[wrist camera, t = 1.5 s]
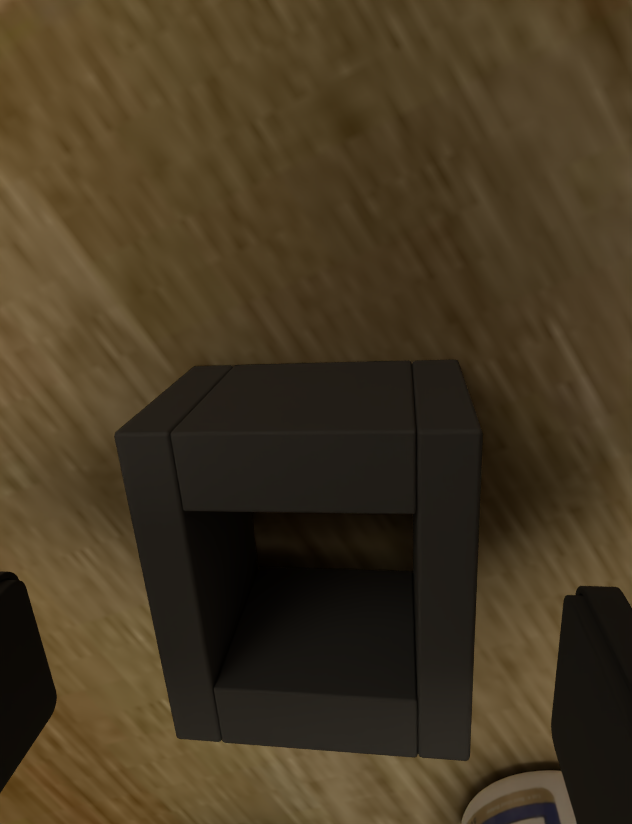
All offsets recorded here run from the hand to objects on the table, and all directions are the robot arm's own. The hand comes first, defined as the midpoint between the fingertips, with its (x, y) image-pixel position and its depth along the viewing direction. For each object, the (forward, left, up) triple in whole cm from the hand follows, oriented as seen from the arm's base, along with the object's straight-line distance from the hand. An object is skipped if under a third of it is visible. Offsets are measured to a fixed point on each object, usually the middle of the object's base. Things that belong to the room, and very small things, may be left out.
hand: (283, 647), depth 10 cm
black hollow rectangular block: (0, 0, -5) cm, 5 cm away
